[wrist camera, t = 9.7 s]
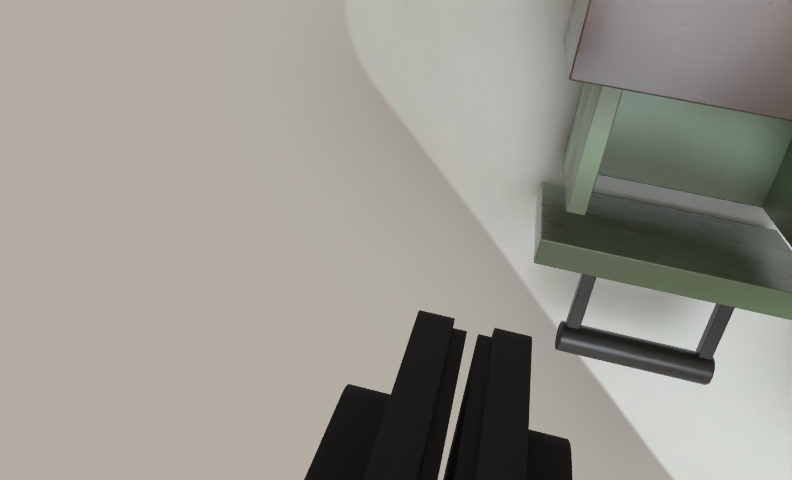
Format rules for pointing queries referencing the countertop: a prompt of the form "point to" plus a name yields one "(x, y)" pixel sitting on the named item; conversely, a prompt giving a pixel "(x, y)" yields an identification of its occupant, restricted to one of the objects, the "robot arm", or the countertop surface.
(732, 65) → the cabinet
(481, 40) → the countertop surface
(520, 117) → the countertop surface
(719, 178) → the bin drawer
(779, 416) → the countertop surface
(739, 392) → the countertop surface
